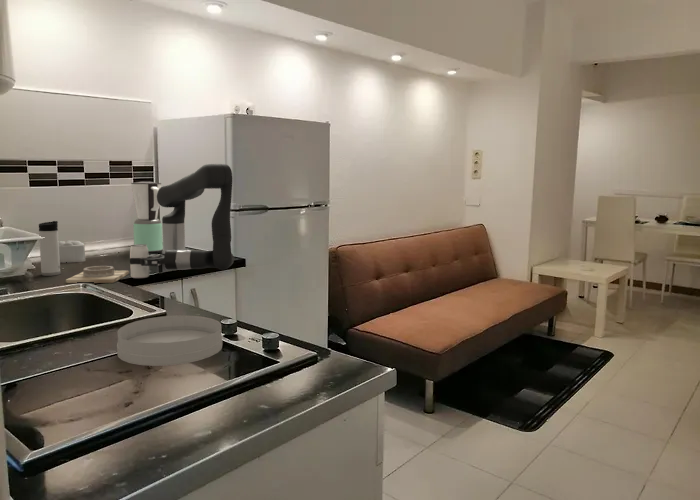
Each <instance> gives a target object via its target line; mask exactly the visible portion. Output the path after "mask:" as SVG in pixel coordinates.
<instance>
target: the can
mask: <svg viewBox="0 0 700 500" xmlns="http://www.w3.org/2000/svg"><path fill="white" fill-rule="evenodd" d="M147 256H149V253H148V247H147V245H146V244H135V245H134V244H131V245H130V249H129V259H130V258H146V257H147ZM145 263H147V260H145ZM129 266H130V278H133V279H146V278H149V277H150V266H141V264H130V263H129Z"/></svg>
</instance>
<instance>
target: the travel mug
mask: <svg viewBox="0 0 700 500" xmlns="http://www.w3.org/2000/svg"><path fill="white" fill-rule="evenodd" d="M58 223H59V222H58V220H53V221H47V222H46V221H45V222H41V223H39V224H38V237H39V236H41V237H45V238H43V239H39V238H38V239H39V241H38V242H39V257H40V270H41V272H40V273H41V276H45V277H50V276H52V277H54V276H59V275H60V274H61V263H60V257H59V229H58V228H59V227H58V225H59V224H58Z"/></svg>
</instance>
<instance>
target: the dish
mask: <svg viewBox="0 0 700 500" xmlns="http://www.w3.org/2000/svg"><path fill="white" fill-rule="evenodd" d="M116 333H117V343H116V349H117V357H118V358H119V359H120V360H121V361H123V362H125V363H129V364H133V365H139V366H148V367H149V366H150V367H157V366H159V367H161V366H162V367H163V366H175V365H176V366H177V365H184V364H189V363H194V362H198V361H201V360H204V359H208V358H210V357H212V356H214V355H216V354H218V353H219V352H221V350H222V349H223V335H222V323H221V322H220V321H218V320H216V319H214V318H210V317H206V316H200V315H183V314H181V315H167V316H166V315H165V316H157V317H156V316H155V317H149V318H144V319H139V320H135V321H133V322H130V323H126V324H125V325H123V326H121V327H120V328H119V329H118V330H117V332H116Z"/></svg>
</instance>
